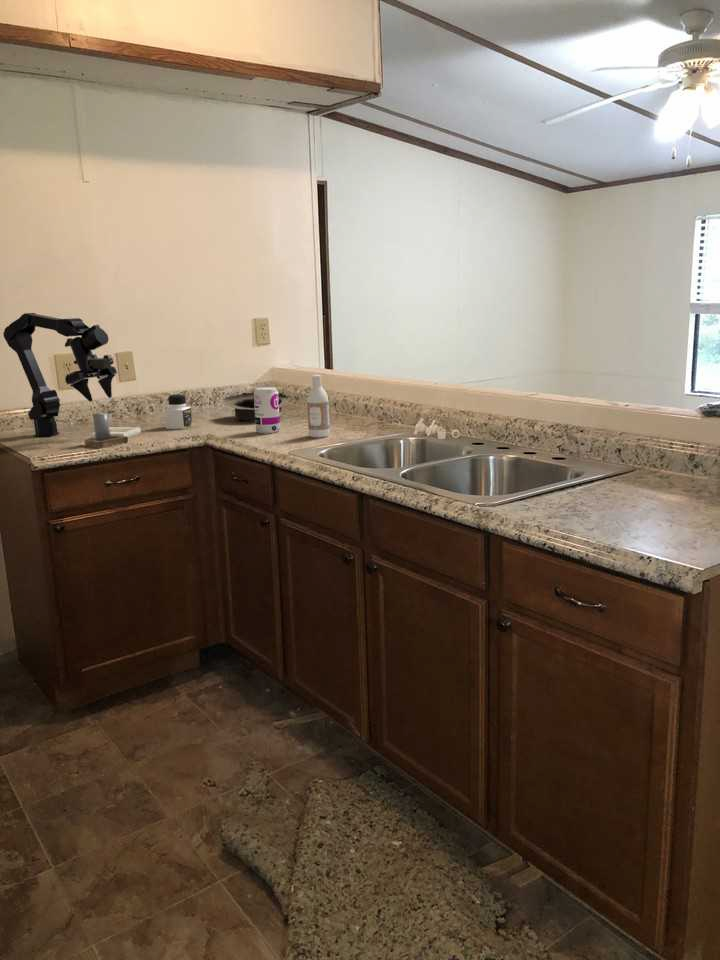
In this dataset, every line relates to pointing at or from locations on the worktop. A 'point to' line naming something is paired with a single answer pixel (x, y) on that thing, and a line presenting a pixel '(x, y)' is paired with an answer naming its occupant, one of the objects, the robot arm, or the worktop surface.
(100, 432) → the grey rounded upright piece
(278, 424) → the supplement can
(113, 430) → the dish
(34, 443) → the worktop surface
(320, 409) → the bath foam
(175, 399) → the medicine bottle
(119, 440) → the socket
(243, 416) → the stone bowl
